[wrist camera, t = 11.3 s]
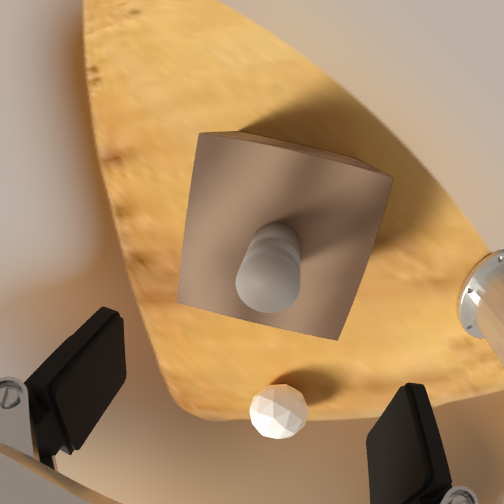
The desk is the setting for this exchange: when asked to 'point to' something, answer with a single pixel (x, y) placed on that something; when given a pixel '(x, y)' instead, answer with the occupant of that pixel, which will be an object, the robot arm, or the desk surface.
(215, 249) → the walnut cover
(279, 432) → the geometric ball
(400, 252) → the desk surface
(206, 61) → the desk surface
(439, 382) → the desk surface
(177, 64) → the desk surface
